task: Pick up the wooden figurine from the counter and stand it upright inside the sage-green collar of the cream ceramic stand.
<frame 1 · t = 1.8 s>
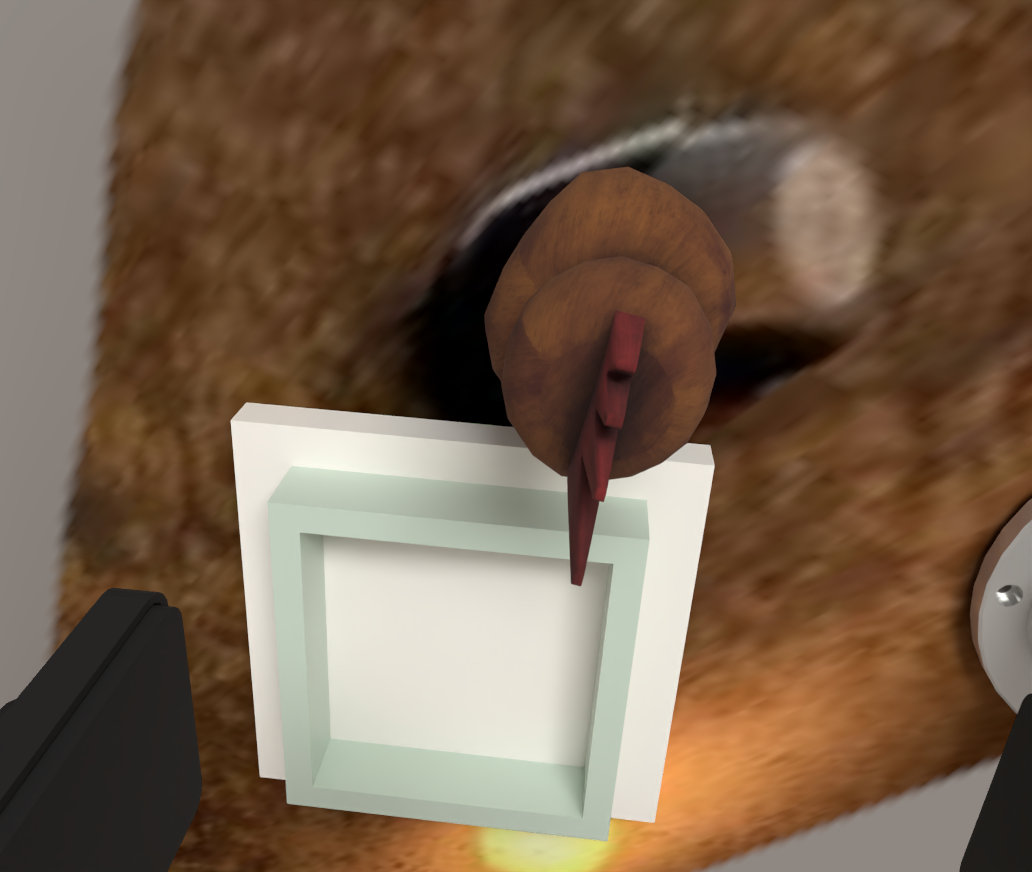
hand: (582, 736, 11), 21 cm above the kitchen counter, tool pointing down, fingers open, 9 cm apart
ceramic stand: (466, 614, 36), on the kitchen counter
wooden figurine: (609, 259, 30), on the kitchen counter
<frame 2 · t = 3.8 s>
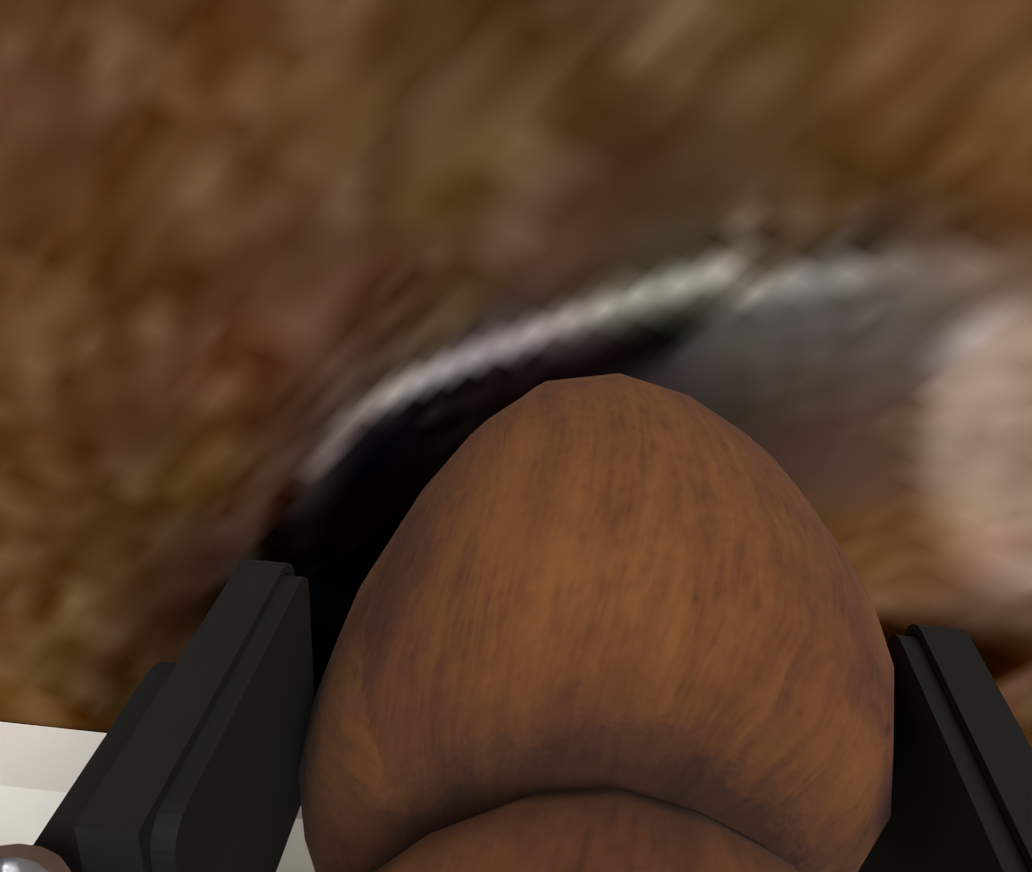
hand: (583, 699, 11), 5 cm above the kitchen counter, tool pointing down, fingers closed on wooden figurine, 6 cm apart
wooden figurine: (592, 501, 15), on the kitchen counter, touching gripper
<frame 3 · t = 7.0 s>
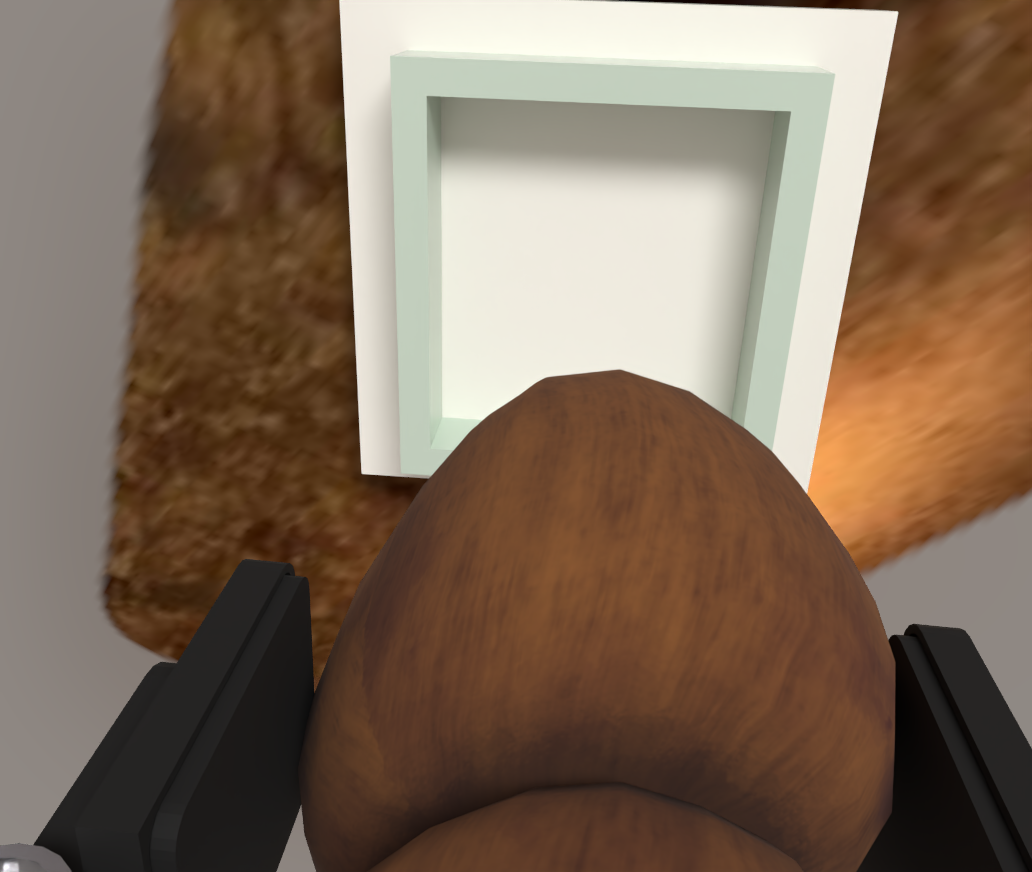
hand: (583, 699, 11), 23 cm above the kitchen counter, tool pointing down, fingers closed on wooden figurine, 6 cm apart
ceramic stand: (595, 261, 32), on the kitchen counter
wooden figurine: (592, 498, 15), point 18 cm above the kitchen counter, touching gripper
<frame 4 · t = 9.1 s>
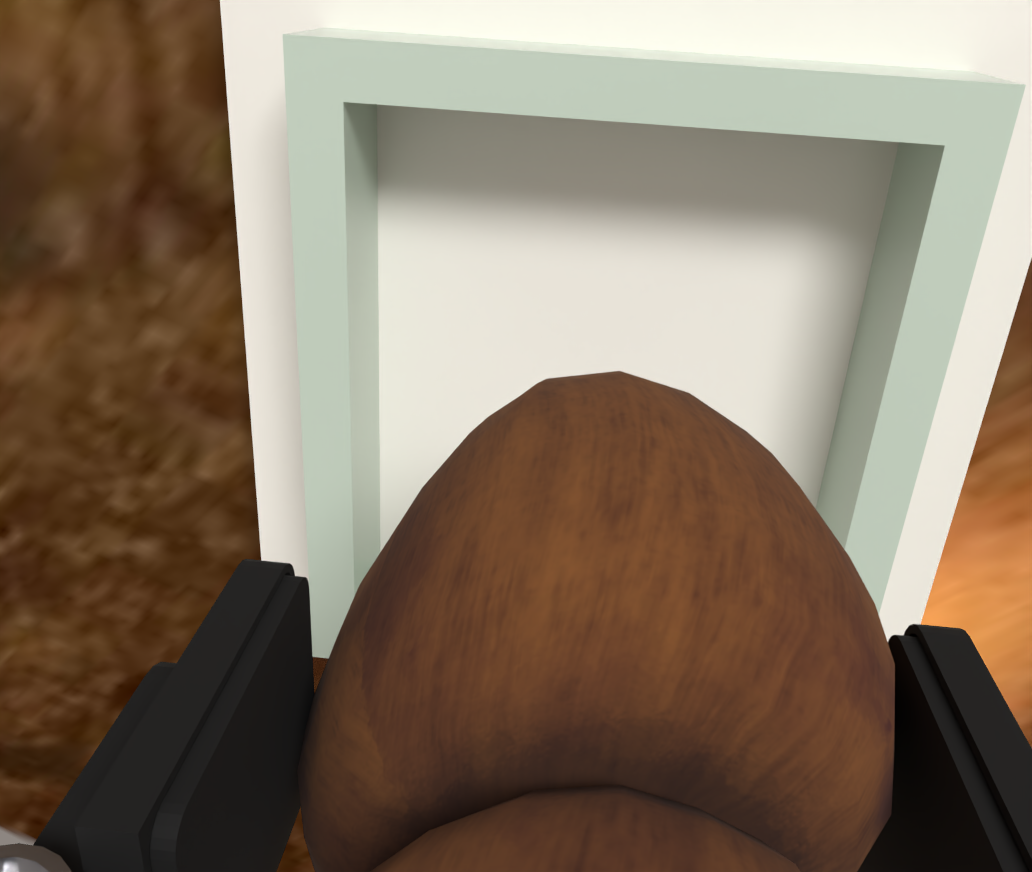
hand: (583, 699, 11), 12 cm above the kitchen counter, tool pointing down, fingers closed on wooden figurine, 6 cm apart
ceramic stand: (607, 348, 22), on the kitchen counter
wooden figurine: (592, 499, 15), point 7 cm above the kitchen counter, touching gripper
when the fingers open (7 cm above the kitchen counter, at t = 10.6 s): wooden figurine stays where it is, resting on ceramic stand.
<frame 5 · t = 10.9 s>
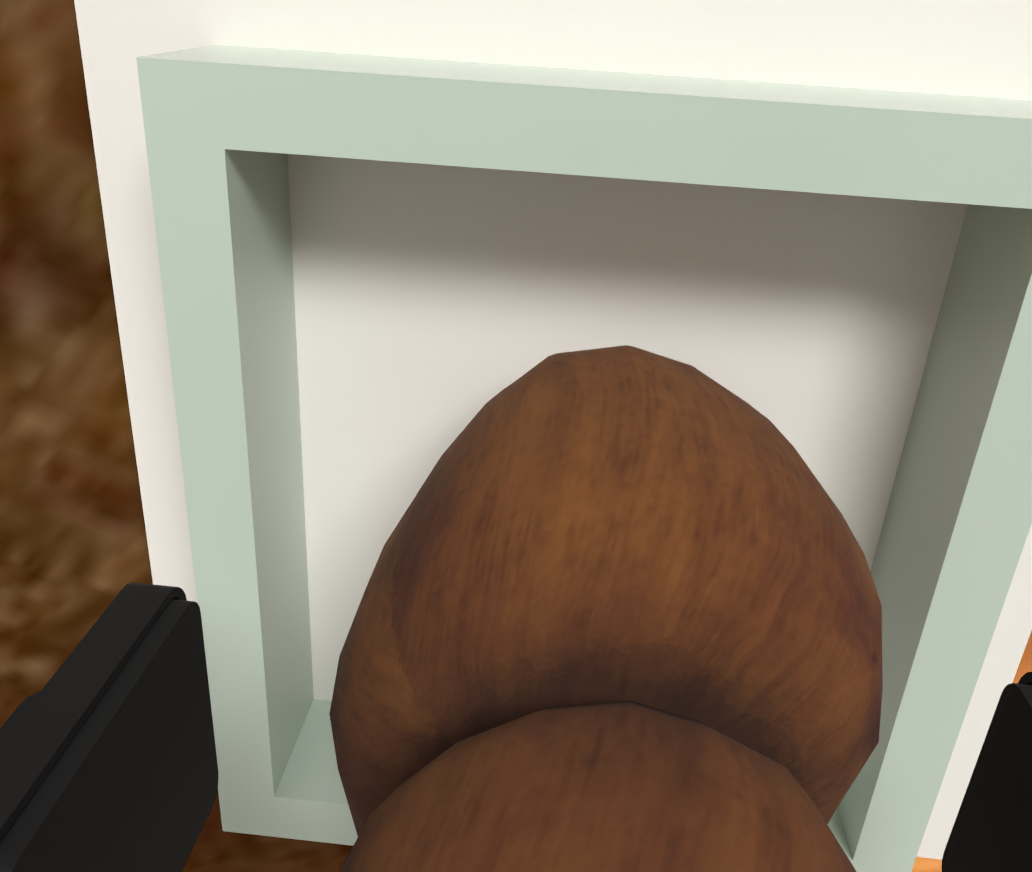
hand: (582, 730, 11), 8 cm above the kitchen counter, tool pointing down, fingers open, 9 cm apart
ceramic stand: (591, 440, 17), on the kitchen counter
wooden figurine: (600, 472, 16), point 1 cm above the kitchen counter, touching ceramic stand
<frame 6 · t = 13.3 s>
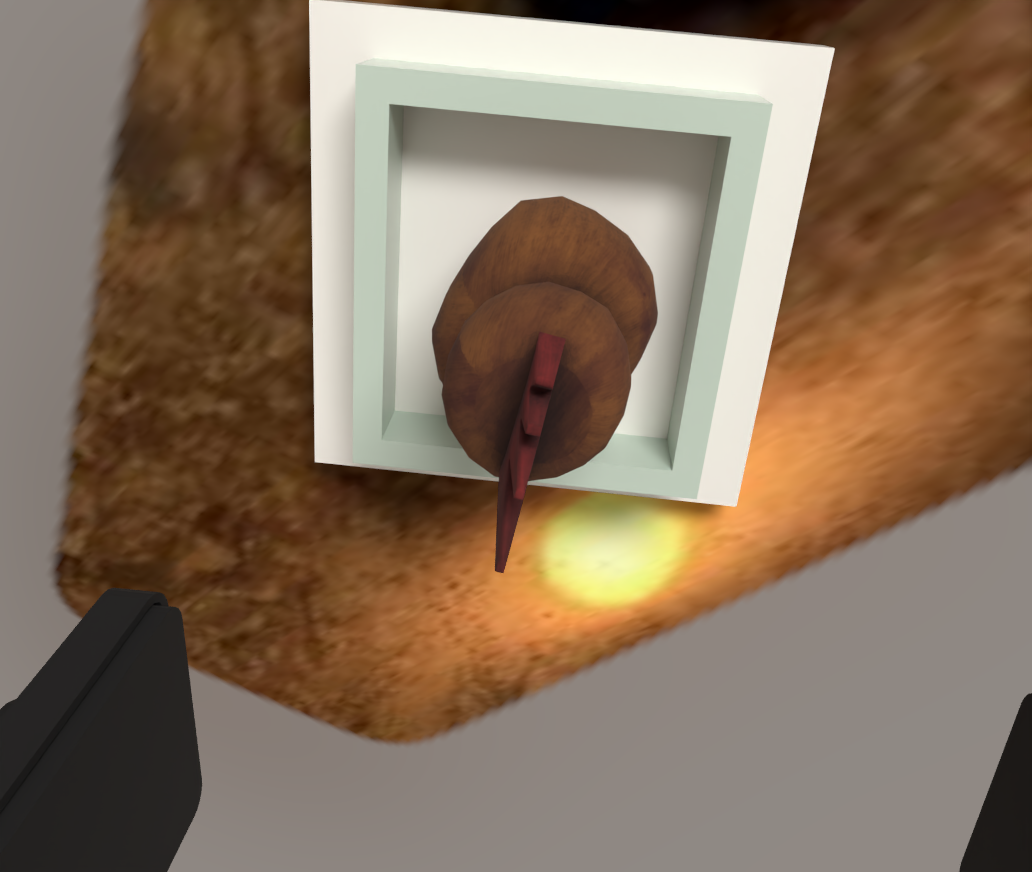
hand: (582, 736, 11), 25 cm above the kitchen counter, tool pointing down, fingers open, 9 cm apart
ceramic stand: (546, 267, 33), on the kitchen counter
wooden figurine: (550, 276, 32), point 1 cm above the kitchen counter, touching ceramic stand
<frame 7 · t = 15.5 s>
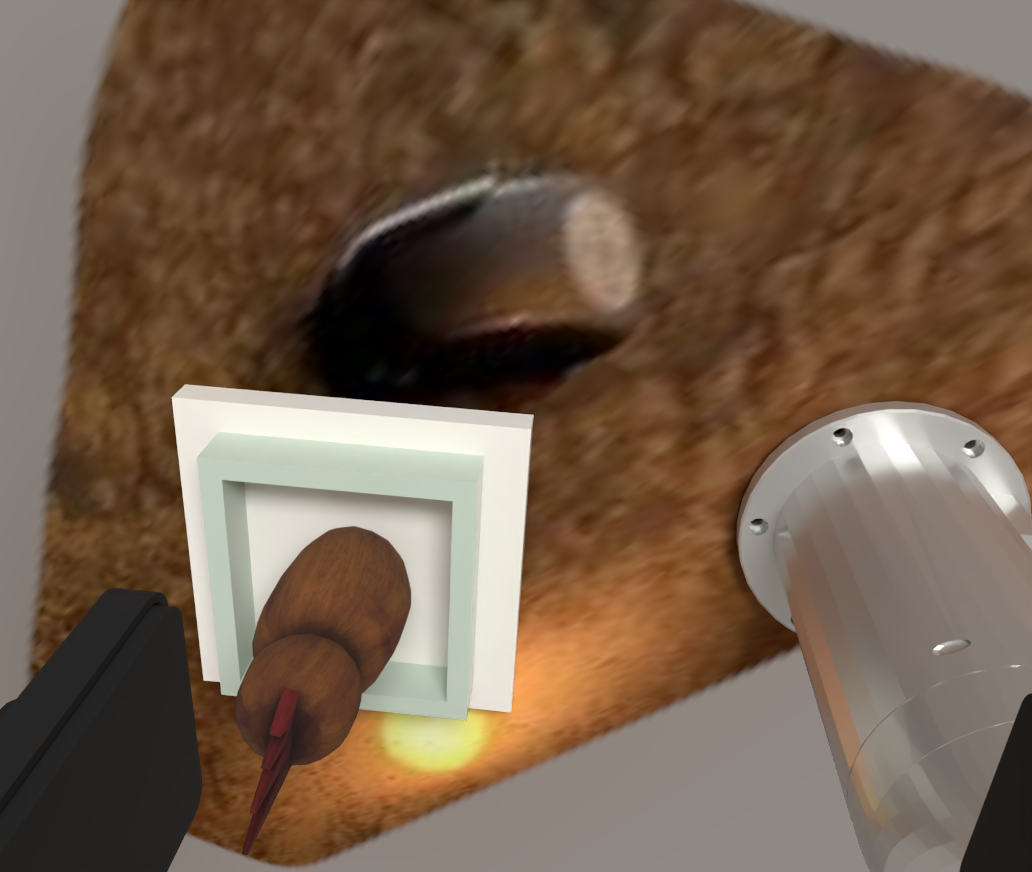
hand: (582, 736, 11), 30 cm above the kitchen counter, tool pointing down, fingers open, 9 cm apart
ceramic stand: (360, 548, 46), on the kitchen counter
wooden figurine: (357, 562, 45), point 1 cm above the kitchen counter, touching ceramic stand
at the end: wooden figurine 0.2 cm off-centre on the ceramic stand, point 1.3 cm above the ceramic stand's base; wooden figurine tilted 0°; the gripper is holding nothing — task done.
